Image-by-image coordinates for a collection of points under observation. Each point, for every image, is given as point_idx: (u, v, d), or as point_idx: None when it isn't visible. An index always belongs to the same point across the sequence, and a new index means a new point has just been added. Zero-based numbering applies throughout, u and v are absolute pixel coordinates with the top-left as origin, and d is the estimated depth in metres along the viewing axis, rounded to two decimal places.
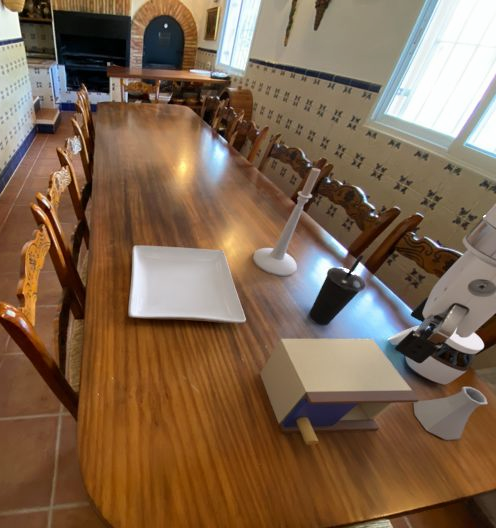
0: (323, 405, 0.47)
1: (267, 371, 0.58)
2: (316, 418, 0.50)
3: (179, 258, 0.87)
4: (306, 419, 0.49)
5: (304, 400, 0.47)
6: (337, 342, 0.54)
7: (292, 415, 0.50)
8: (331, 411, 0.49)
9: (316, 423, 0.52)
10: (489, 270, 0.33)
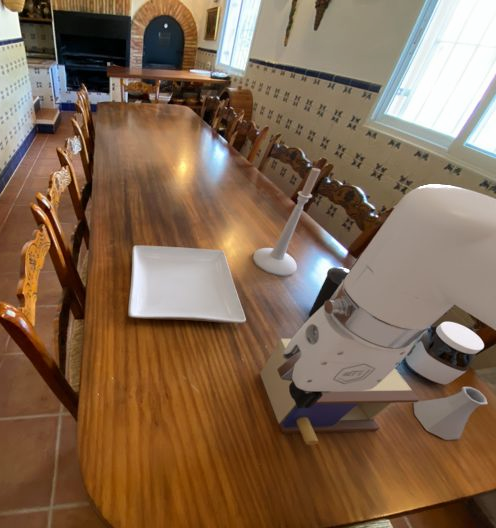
0: (323, 405, 0.47)
1: (267, 371, 0.58)
2: (316, 418, 0.50)
3: (179, 258, 0.87)
4: (306, 419, 0.49)
5: None
6: None
7: (292, 415, 0.50)
8: (331, 411, 0.49)
9: (316, 423, 0.52)
10: (321, 317, 0.31)
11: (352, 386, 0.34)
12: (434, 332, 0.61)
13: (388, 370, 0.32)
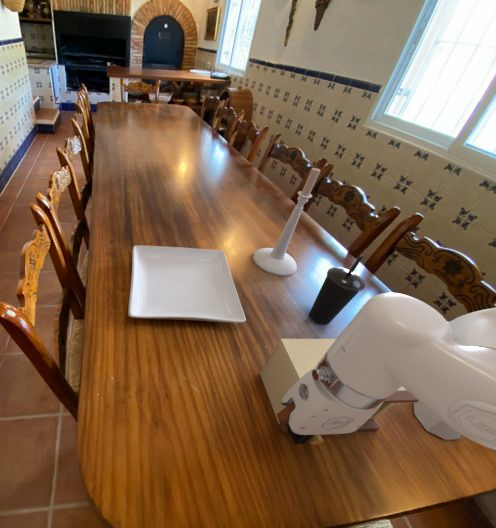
0: None
1: (267, 371, 0.58)
2: None
3: (179, 258, 0.87)
4: None
5: None
6: None
7: None
8: None
9: None
10: (310, 379, 0.39)
11: (337, 431, 0.42)
12: None
13: (365, 419, 0.40)
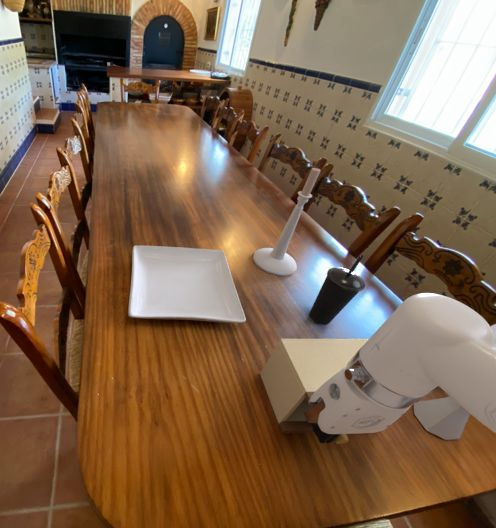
0: None
1: (267, 371, 0.58)
2: None
3: (179, 258, 0.87)
4: None
5: None
6: (337, 342, 0.54)
7: None
8: None
9: None
10: (341, 379, 0.39)
11: (366, 430, 0.42)
12: None
13: (395, 419, 0.41)
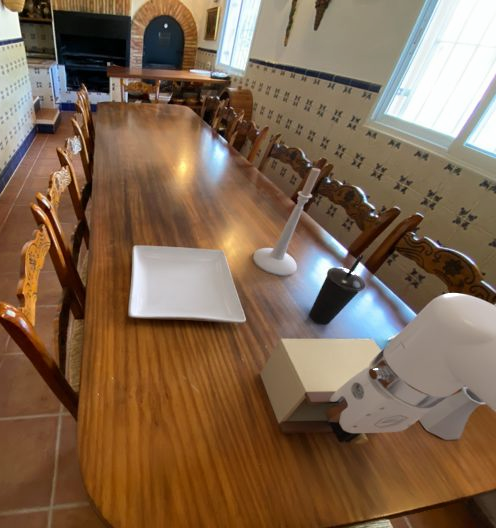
0: None
1: (267, 371, 0.58)
2: None
3: (179, 258, 0.87)
4: None
5: None
6: (337, 342, 0.54)
7: None
8: None
9: None
10: (365, 379, 0.40)
11: (388, 429, 0.42)
12: None
13: (417, 418, 0.41)
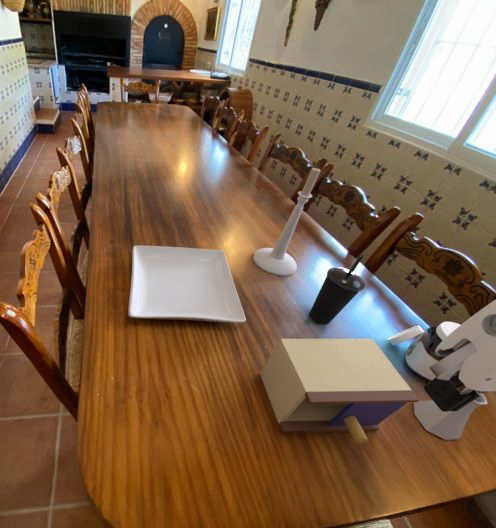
0: (373, 404, 0.48)
1: (267, 371, 0.58)
2: (363, 417, 0.51)
3: (179, 258, 0.87)
4: (354, 418, 0.50)
5: None
6: (337, 342, 0.54)
7: (340, 414, 0.50)
8: (379, 410, 0.49)
9: (361, 422, 0.52)
10: None
11: None
12: (434, 332, 0.61)
13: None
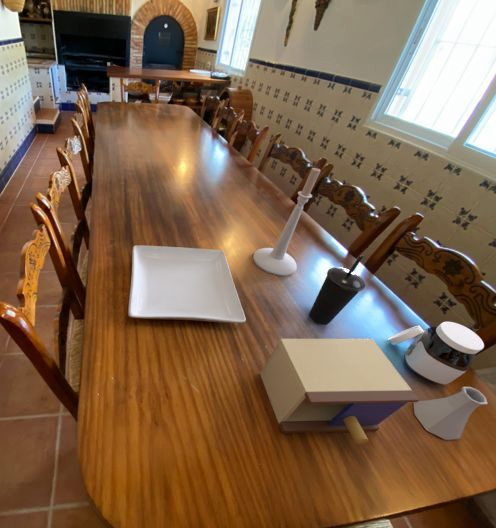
0: (373, 404, 0.48)
1: (267, 371, 0.58)
2: (363, 417, 0.51)
3: (179, 258, 0.87)
4: (354, 418, 0.50)
5: None
6: (337, 342, 0.54)
7: (340, 414, 0.50)
8: (379, 410, 0.49)
9: (361, 422, 0.52)
10: None
11: None
12: (434, 332, 0.61)
13: None
